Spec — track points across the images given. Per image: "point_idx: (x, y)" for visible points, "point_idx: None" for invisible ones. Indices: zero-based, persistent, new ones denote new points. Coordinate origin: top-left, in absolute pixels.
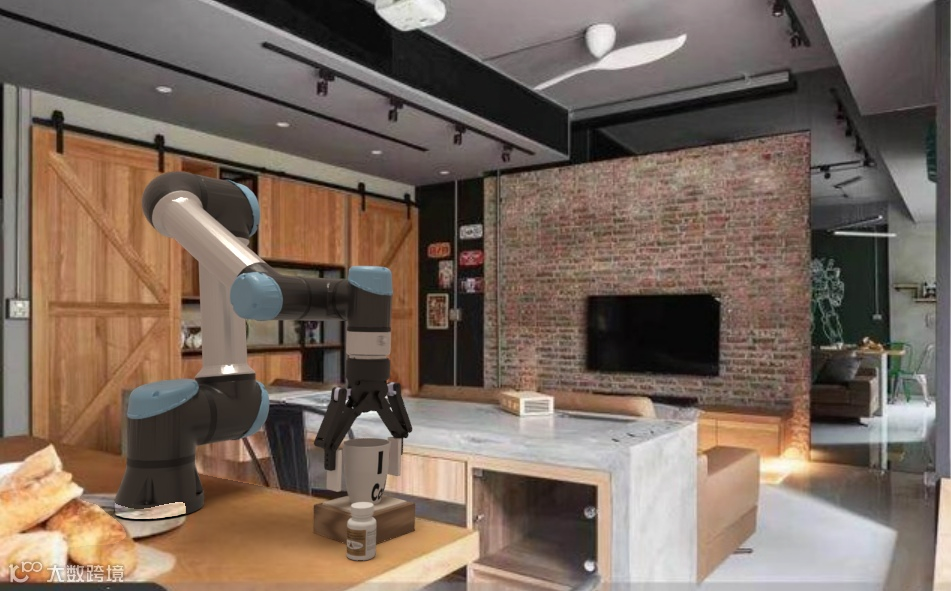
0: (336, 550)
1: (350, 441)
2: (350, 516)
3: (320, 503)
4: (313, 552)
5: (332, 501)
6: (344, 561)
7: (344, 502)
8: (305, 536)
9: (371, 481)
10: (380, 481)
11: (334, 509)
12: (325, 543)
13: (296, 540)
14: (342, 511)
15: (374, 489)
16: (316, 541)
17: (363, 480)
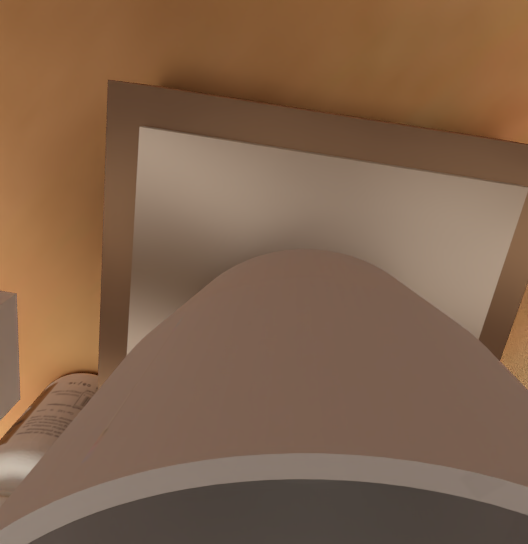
0: (73, 314)
1: (380, 451)
2: (99, 382)
3: (156, 93)
4: (3, 258)
5: (191, 168)
6: (23, 396)
7: (220, 243)
8: (101, 92)
9: (209, 525)
10: (280, 540)
11: (121, 253)
12: (97, 231)
13: (41, 97)
14: (123, 310)
15: (245, 484)
16: (89, 183)
17: (165, 498)
